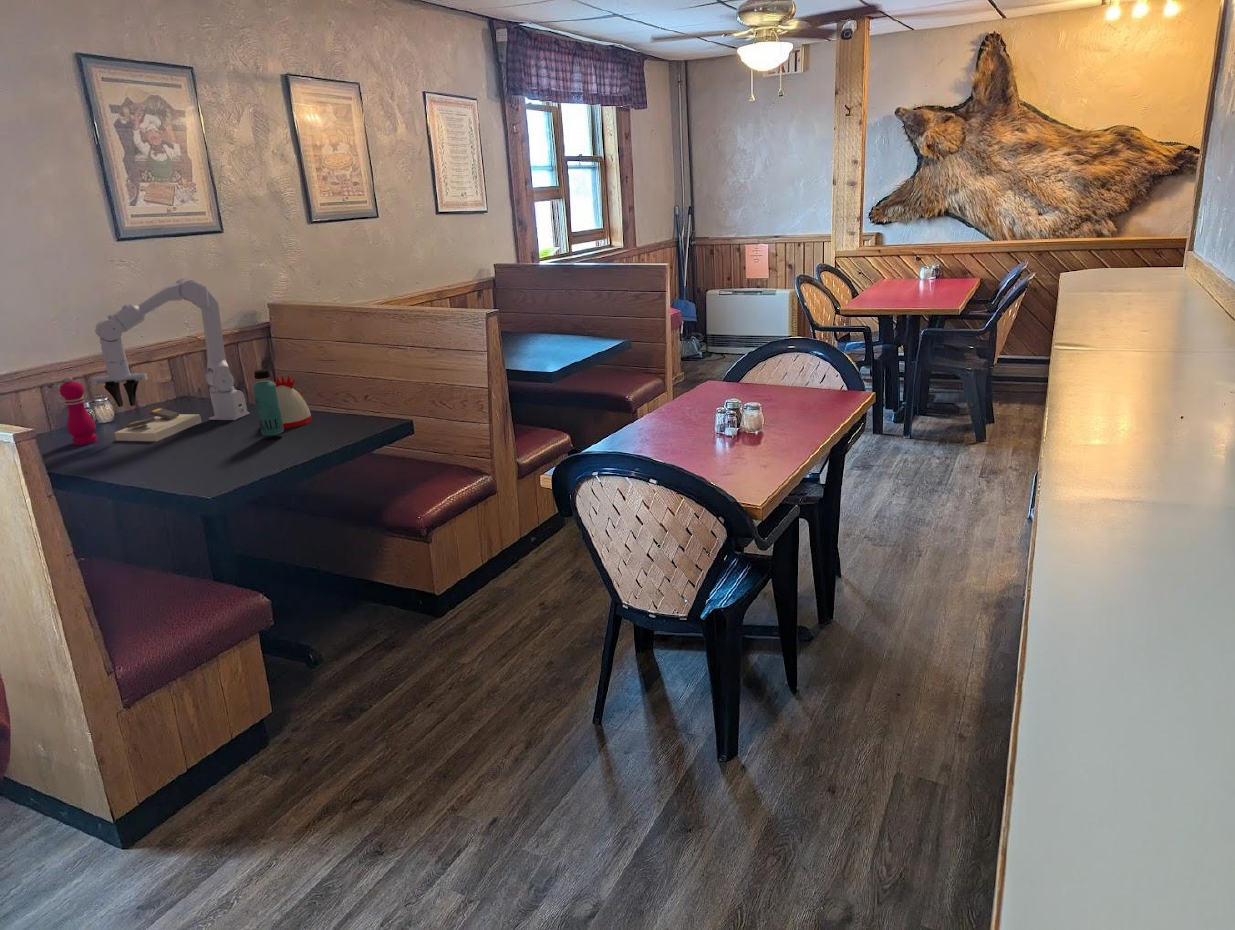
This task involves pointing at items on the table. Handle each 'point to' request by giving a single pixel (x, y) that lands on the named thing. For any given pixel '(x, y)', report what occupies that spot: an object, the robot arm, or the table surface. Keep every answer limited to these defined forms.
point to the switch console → (158, 428)
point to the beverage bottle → (267, 404)
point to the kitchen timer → (291, 404)
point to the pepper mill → (78, 413)
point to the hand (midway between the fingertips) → (126, 405)
